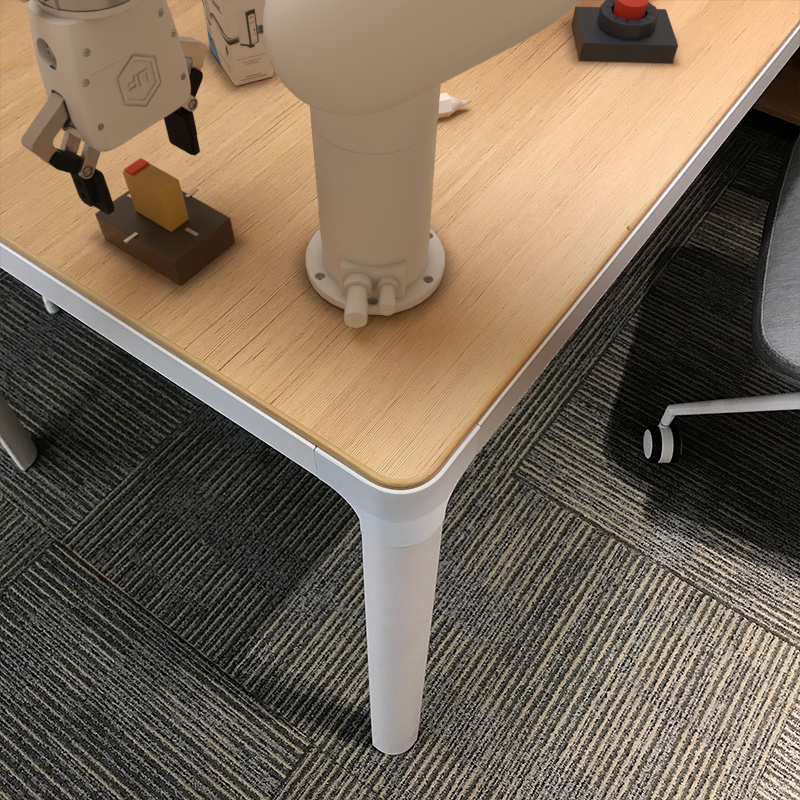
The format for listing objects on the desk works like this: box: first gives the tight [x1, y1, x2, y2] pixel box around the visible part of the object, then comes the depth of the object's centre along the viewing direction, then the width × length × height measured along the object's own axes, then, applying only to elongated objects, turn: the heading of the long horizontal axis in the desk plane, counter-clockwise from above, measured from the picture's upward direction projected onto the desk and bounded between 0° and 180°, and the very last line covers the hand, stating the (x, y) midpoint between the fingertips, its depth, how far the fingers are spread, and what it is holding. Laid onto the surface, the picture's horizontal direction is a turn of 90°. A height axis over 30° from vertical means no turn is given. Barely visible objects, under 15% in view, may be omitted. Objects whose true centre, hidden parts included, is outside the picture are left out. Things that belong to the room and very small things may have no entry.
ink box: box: [201, 0, 274, 87], centre depth 83 cm, size 9×5×12 cm, turn 27°
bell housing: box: [571, 0, 679, 64], centre depth 90 cm, size 8×11×4 cm
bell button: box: [613, 0, 650, 20], centre depth 88 cm, size 4×4×2 cm
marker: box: [438, 92, 473, 120], centre depth 81 cm, size 3×2×16 cm
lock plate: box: [94, 187, 236, 287], centre depth 70 cm, size 10×9×3 cm
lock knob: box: [122, 157, 189, 232], centre depth 67 cm, size 5×2×5 cm, turn 54°
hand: (143, 176), depth 65 cm, fingers open, 9 cm apart
